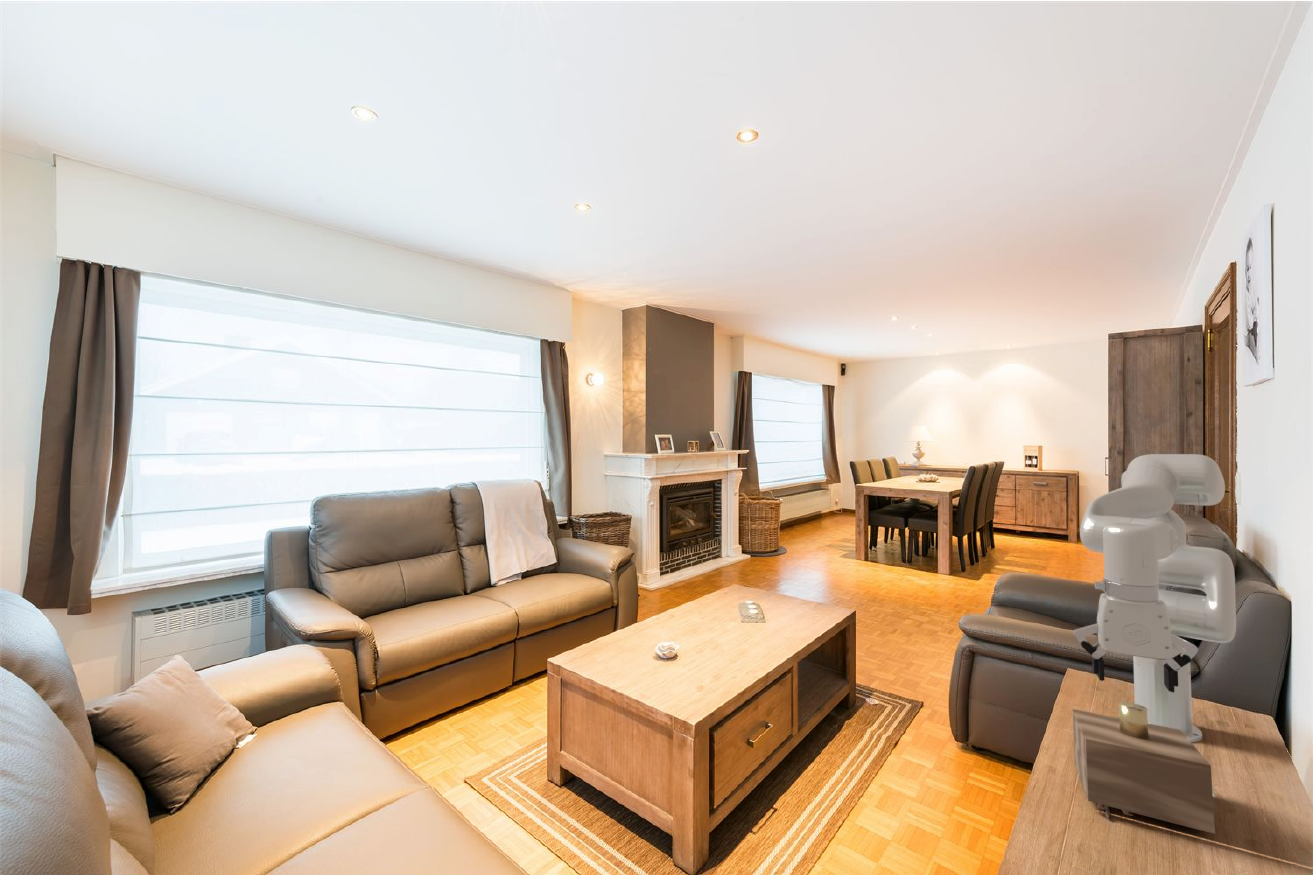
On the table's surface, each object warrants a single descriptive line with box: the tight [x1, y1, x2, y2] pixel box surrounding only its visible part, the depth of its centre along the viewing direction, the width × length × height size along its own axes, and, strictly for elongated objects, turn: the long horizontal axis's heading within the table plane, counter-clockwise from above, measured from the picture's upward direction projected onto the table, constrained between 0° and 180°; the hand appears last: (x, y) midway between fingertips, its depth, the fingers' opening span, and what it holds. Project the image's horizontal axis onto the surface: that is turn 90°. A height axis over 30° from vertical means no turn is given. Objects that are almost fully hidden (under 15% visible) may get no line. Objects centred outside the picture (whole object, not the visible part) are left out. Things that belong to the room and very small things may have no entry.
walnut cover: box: [1072, 701, 1216, 835], centre depth 99 cm, size 16×16×16 cm
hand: (1134, 683), depth 99 cm, fingers open, 9 cm apart
